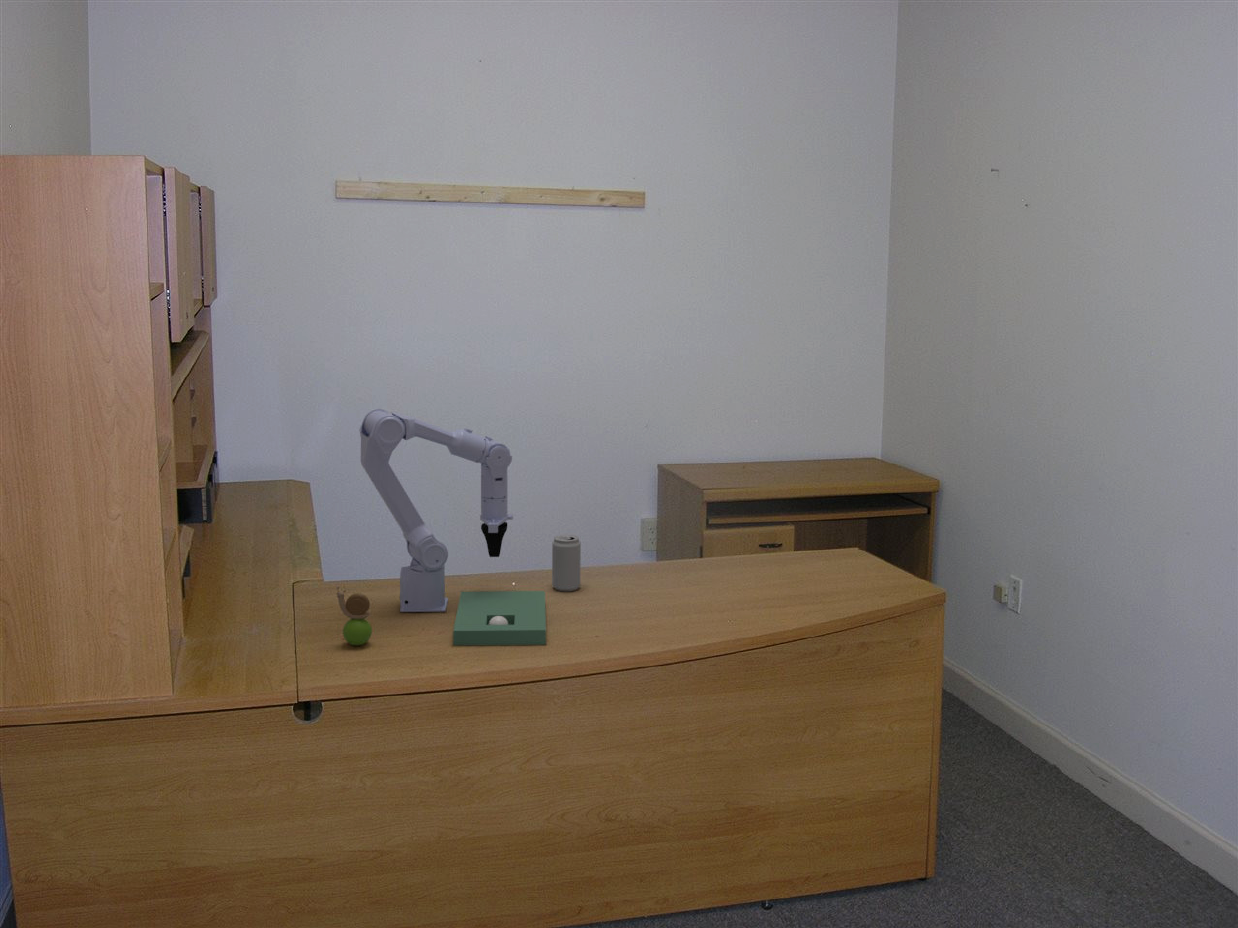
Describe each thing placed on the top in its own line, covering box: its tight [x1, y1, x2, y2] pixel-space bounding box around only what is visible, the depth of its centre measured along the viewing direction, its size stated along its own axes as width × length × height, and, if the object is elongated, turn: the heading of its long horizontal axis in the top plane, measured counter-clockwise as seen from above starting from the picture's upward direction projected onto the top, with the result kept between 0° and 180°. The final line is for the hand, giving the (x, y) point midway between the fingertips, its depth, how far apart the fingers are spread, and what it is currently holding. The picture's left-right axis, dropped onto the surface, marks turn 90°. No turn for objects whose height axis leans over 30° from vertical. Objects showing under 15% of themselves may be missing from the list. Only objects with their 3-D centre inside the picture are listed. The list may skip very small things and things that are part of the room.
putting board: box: [452, 590, 547, 646], centre depth 226 cm, size 18×24×3 cm
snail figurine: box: [335, 584, 373, 647], centre depth 212 cm, size 5×6×12 cm
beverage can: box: [551, 534, 582, 592], centre depth 248 cm, size 6×6×12 cm
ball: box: [489, 616, 508, 625], centre depth 219 cm, size 4×4×4 cm
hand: (494, 556), depth 240 cm, fingers closed
